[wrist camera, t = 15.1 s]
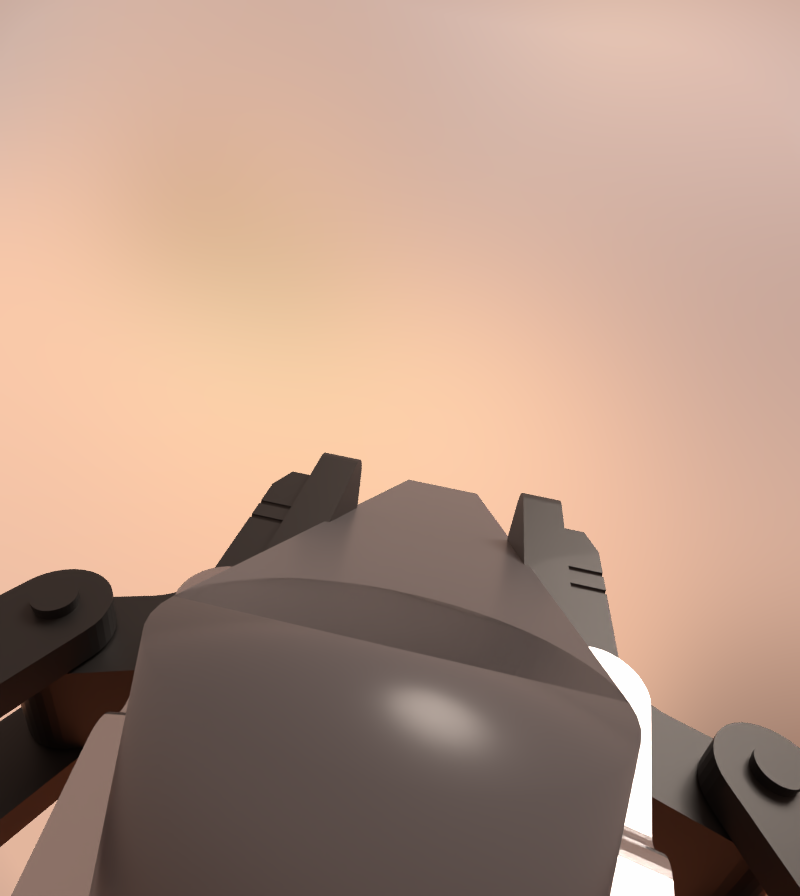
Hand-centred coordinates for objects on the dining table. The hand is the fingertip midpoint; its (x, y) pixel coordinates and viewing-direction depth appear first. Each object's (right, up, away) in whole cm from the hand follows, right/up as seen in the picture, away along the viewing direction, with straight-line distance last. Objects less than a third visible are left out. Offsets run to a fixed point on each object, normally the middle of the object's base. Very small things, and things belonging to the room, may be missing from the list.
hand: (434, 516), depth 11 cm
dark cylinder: (0, -3, +4) cm, 5 cm away
